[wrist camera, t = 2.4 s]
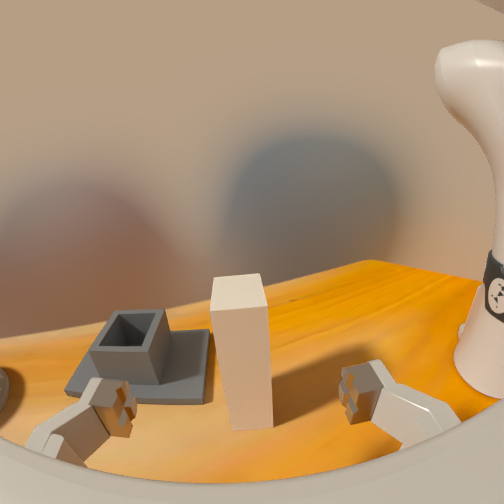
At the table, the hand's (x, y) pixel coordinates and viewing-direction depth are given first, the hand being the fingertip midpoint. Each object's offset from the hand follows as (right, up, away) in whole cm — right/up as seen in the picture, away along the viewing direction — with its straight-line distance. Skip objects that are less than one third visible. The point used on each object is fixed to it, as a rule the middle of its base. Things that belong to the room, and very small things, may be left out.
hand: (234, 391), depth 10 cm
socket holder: (-14, -10, +24) cm, 30 cm away
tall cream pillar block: (+1, -11, +17) cm, 20 cm away
